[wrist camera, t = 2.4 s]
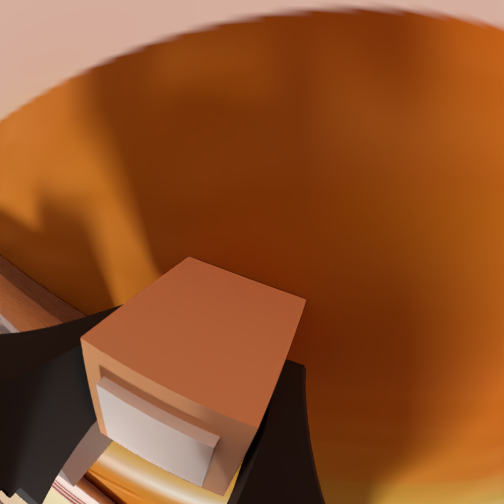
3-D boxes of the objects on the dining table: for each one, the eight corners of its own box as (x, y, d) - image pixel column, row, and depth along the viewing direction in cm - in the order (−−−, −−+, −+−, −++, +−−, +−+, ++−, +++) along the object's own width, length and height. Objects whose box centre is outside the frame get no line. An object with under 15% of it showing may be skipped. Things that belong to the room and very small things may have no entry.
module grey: (126, 424, 14) (70, 490, 9) (72, 387, 14) (14, 441, 10) (121, 377, 12) (45, 456, 7) (60, 337, 13) (-15, 395, 8)
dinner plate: (130, 493, 24) (115, 513, 21) (165, 544, 34) (158, 556, 31) (-6, 389, 31) (-19, 400, 28) (53, 475, 41) (45, 484, 38)
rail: (132, 416, 15) (101, 452, 12) (12, 327, 18) (-18, 347, 15) (127, 339, 13) (81, 381, 10) (-4, 251, 15) (-41, 269, 12)
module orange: (272, 385, 11) (219, 504, 6) (177, 345, 12) (95, 438, 7) (306, 299, 9) (253, 440, 5) (188, 256, 10) (71, 344, 5)
